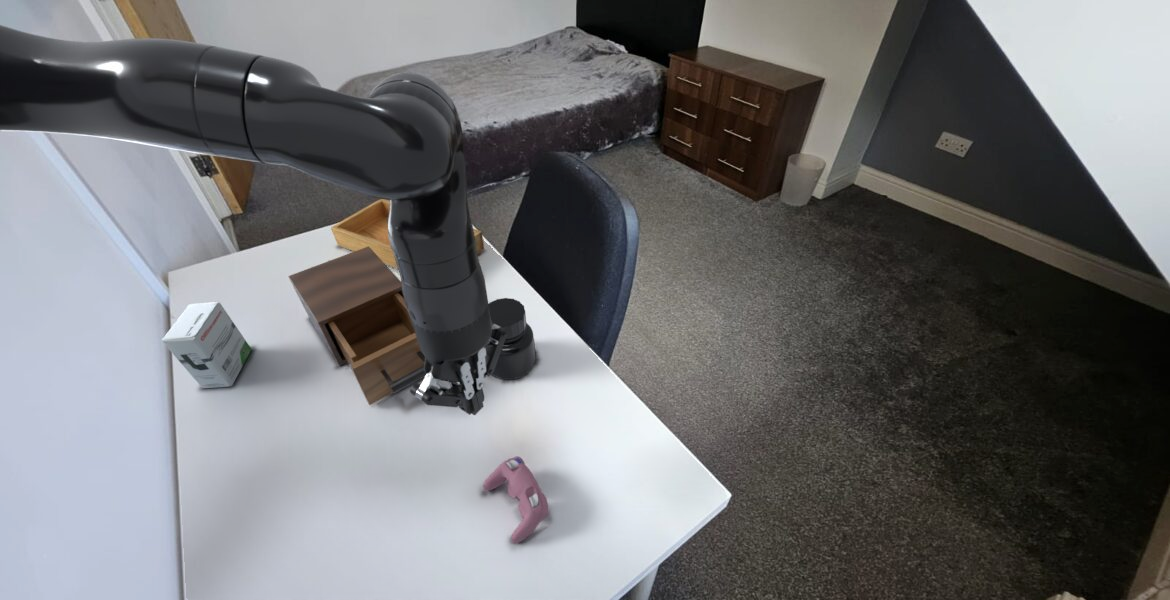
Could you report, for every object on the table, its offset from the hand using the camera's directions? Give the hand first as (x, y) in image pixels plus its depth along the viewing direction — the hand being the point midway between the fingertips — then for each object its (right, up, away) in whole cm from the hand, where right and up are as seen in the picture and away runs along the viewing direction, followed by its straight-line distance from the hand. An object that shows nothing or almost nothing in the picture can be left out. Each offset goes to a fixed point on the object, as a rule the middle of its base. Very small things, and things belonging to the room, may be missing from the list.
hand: (473, 407), depth 57 cm
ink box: (-48, +1, +24) cm, 54 cm away
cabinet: (-29, +9, +33) cm, 44 cm away
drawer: (-19, +2, +24) cm, 30 cm away
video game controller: (+4, -15, +7) cm, 17 cm away
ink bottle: (0, +2, +26) cm, 26 cm away
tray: (-27, +25, +51) cm, 63 cm away
